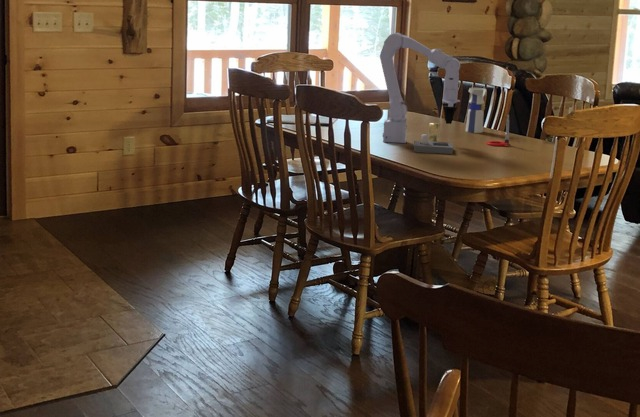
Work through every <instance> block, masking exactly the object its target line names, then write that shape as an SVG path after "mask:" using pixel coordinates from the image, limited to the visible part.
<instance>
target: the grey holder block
mask: <svg viewBox="0 0 640 417" xmlns="http://www.w3.org/2000/svg"><path fill="white" fill-rule="evenodd" d="M428 135H429V134H421V140H414V141H413V153H424V154H425V153H427V154H428V153H429V154H444V155H447V154H450V155H453V153H454V146H453V143H452V142H447V141H445V142H443V141H439V142H429V141H428Z"/></svg>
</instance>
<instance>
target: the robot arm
mask: <svg viewBox="0 0 640 417" xmlns="http://www.w3.org/2000/svg"><path fill="white" fill-rule="evenodd" d="M401 48H402V49H412V50H414V51H415V52H418V54H419V53H420V54H422V55H423V56H425V57H427V58H428V62H429V63H431V64H433V65H434V66H437V67H438V68H439V69H444V71H445V76H444V82H443V92H442V100H441V101H442V103H441V105H442V107H443V108H442V109H443V117H444V121H445V124H448V125H451V124H452V123H453V119H454V115H455V113H456V111H457V110H458V106H456V105H457V103H460V102H461V100H460V99H458V96H459V95H458V91H459V80H460V77H459V76H460V72H459V70H460V69H461V61H459V60H458V59H457V58H456V57H453V55H451V54H450V55H448V54H446V53H445V52H443V50H442V49H441V48H433V49H431V48H429V47H427V46H426V45H424V44H422V43H421V42H419V41H417V40H416V39H414V38H412V37H410V36H408V35H406V34H402V33H401V32H394V33H391V34H389V35H388V36H387V37H386V38H385V40H384V42H383V45H382V48H381V51H380V54H379V59H380V63H381V68H382V72H383V76H384V81H385V86H386V89H387V93H388V99H389V110H390V111H389V115H390V118H389V120H387V119H384V120H383V121H384V122H383V132H382V138H383V139H382V142H383V143H401V144H406V143H407V138H406V133H407V121H408V120H407V118H406V115H407V113H408V107H407V105H406V104H405V103H404V102H405V101H404V99H403V97H402V95H401V89H400V86H399V81H398V76H397V73H396V68H395V64H394V56H395V55H396V54H397V51H398V50H400V49H401Z"/></svg>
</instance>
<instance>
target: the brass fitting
mask: <svg viewBox="0 0 640 417" xmlns="http://www.w3.org/2000/svg"><path fill="white" fill-rule="evenodd" d="M440 131H441V123H439V122H429V123H428V134H427V135H428V141H429V142H440V134H441V132H440Z"/></svg>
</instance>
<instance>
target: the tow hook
mask: <svg viewBox="0 0 640 417" xmlns="http://www.w3.org/2000/svg"><path fill="white" fill-rule="evenodd" d="M505 122H506V123H505V136H504V137H505V138H504V141H503V140H502V141H501V140H490V141H486V142H485V143H486V145H488V146H491V147H509V145H510V114H506V120H505Z"/></svg>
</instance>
